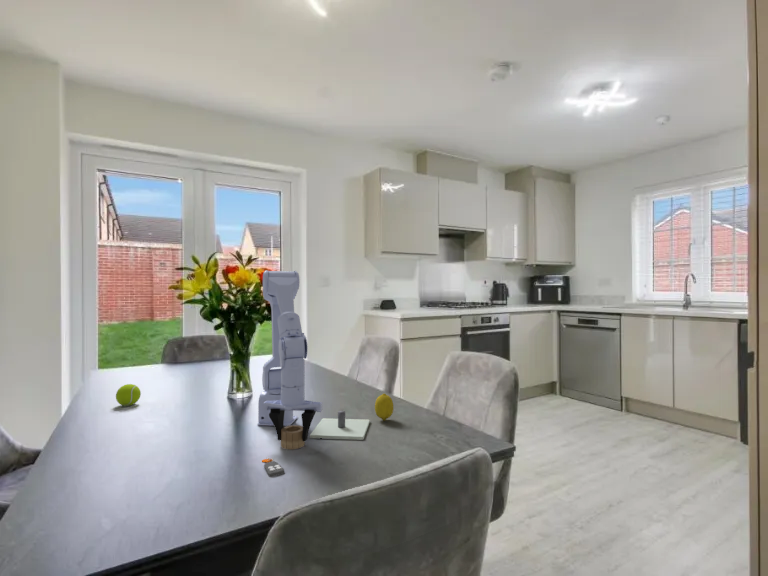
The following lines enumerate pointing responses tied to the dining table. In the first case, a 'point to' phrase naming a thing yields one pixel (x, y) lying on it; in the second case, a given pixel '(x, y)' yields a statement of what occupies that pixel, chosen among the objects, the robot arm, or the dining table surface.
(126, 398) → the tennis ball
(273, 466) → the key chain
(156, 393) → the dining table surface
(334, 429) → the white board with peg
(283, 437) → the bead
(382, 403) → the lemon
